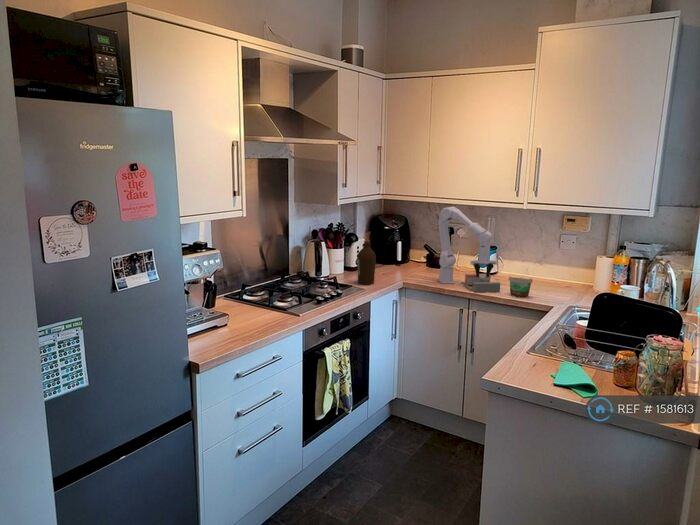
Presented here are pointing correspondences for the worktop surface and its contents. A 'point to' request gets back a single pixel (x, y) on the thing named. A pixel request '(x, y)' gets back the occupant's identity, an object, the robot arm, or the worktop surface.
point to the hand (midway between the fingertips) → (482, 277)
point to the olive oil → (366, 264)
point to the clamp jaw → (473, 278)
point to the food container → (520, 286)
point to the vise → (484, 287)
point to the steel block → (482, 278)
